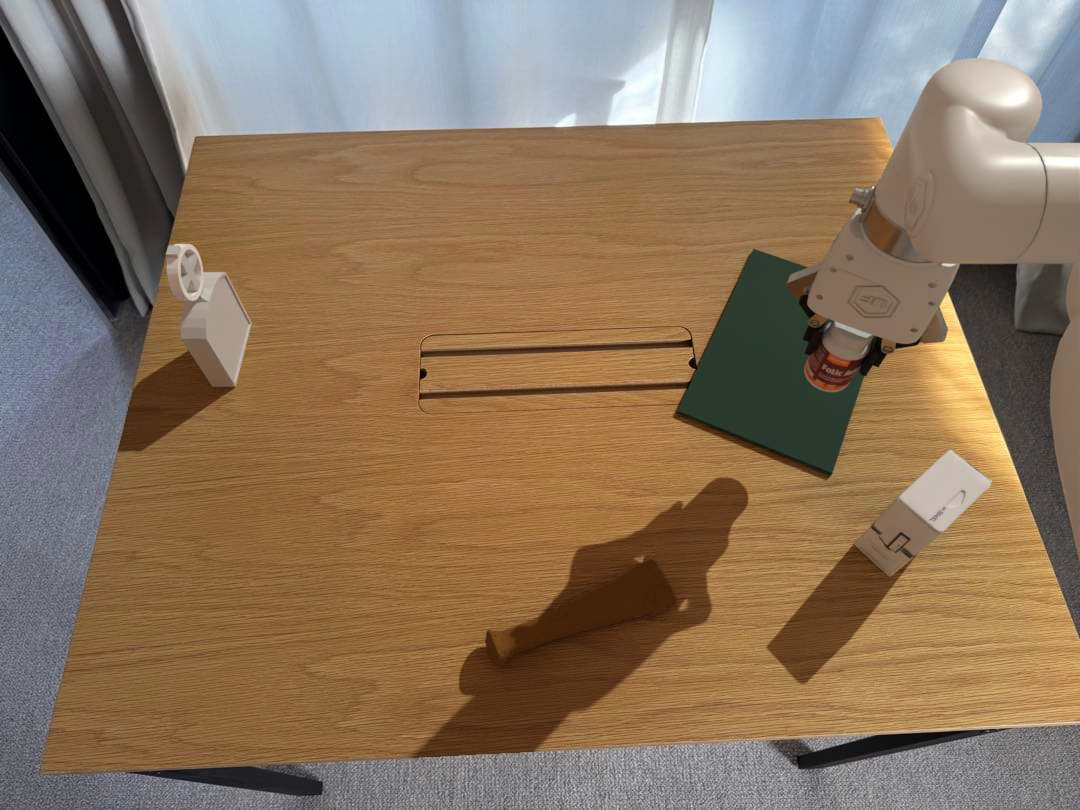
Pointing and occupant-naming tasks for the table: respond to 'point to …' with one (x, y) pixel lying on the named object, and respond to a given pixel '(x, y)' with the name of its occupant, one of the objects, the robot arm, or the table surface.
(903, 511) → the ink box
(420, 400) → the table surface
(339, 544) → the table surface
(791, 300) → the mat
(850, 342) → the pill bottle
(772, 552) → the table surface
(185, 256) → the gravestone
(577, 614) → the primitive tool
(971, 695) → the table surface
